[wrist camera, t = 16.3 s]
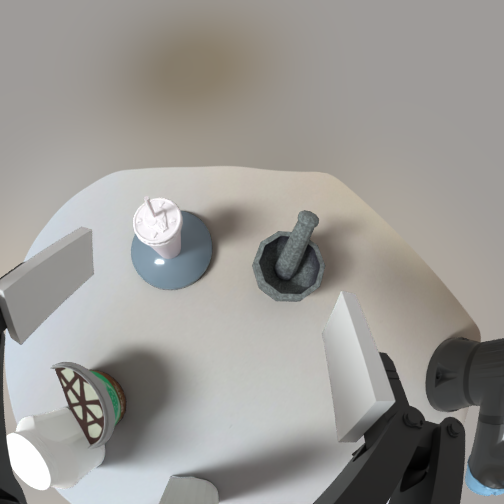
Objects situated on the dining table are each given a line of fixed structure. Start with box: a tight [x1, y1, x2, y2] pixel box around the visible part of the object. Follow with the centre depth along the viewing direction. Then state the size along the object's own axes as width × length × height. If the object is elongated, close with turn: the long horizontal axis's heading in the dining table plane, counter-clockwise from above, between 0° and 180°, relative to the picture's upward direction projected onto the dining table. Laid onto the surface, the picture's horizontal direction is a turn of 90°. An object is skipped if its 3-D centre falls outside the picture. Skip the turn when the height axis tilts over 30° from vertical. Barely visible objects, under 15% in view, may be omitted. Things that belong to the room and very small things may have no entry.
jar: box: [6, 408, 105, 490], centre depth 22 cm, size 12×10×15 cm
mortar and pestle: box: [252, 210, 325, 302], centre depth 38 cm, size 11×9×12 cm
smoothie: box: [133, 196, 183, 259], centre depth 35 cm, size 6×6×14 cm
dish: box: [131, 211, 212, 290], centre depth 42 cm, size 13×13×1 cm
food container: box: [51, 362, 126, 449], centre depth 29 cm, size 12×6×10 cm, turn 28°
